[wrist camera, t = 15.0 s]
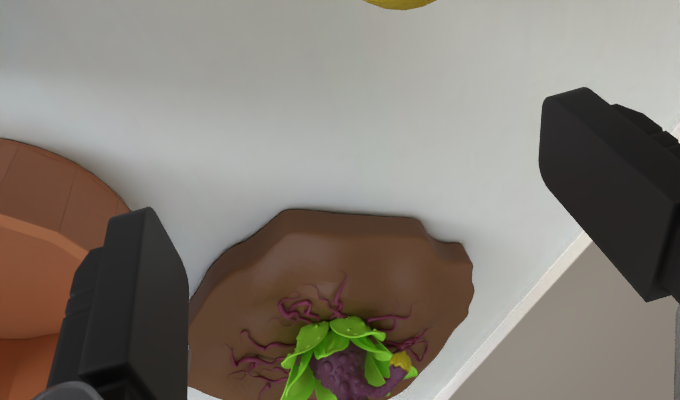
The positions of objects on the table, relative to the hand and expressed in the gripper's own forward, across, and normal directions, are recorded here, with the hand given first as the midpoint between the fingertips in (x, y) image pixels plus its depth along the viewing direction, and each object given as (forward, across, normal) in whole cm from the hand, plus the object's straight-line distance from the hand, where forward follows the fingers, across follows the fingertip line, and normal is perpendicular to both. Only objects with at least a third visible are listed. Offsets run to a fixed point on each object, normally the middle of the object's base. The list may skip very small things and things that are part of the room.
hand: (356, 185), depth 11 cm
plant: (+17, +2, +24) cm, 30 cm away
